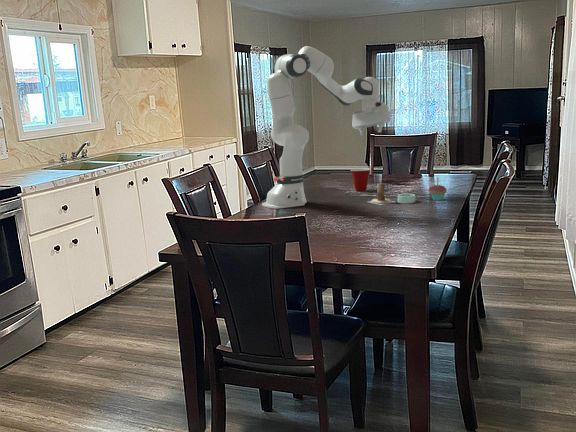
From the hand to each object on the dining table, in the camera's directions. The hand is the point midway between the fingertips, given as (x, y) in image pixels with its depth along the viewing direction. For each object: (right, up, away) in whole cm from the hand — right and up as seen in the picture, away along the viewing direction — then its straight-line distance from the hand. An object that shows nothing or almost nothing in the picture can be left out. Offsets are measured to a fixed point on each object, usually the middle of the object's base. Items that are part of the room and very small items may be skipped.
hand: (370, 133), depth 289 cm
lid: (+3, -35, -12) cm, 37 cm away
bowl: (+15, -35, -13) cm, 40 cm away
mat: (+3, -35, -12) cm, 37 cm away
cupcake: (+31, -34, -10) cm, 47 cm away
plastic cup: (-2, -28, +21) cm, 35 cm away
